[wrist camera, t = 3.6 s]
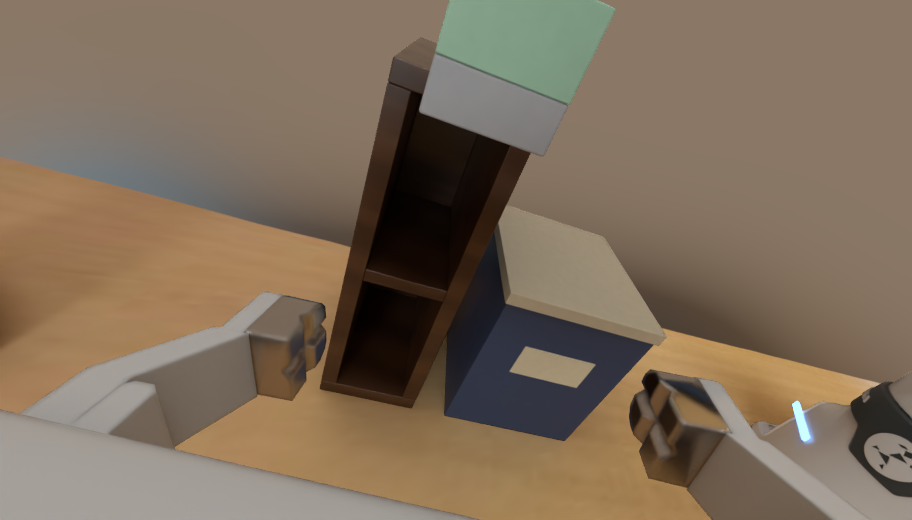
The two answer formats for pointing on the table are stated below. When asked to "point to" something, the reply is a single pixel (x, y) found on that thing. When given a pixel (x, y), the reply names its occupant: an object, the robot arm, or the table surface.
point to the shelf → (414, 239)
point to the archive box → (543, 329)
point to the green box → (512, 66)
